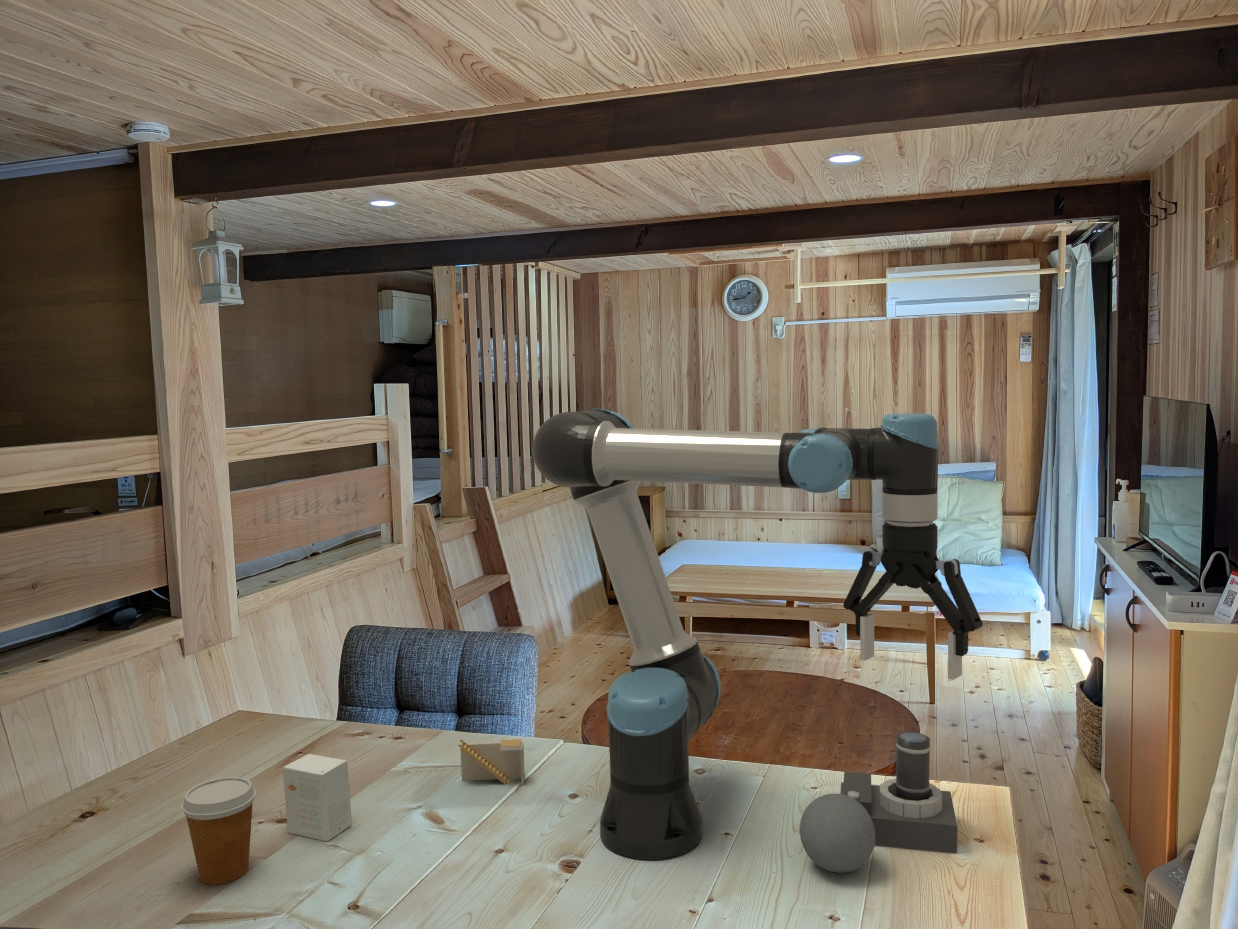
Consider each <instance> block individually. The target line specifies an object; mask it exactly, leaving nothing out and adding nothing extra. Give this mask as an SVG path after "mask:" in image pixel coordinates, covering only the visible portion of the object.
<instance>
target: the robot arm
mask: <svg viewBox="0 0 1238 929" xmlns="http://www.w3.org/2000/svg"><path fill="white" fill-rule="evenodd" d="M938 438H939V437H938V422H937V419H936V418H935V417H934V416H933V415H932V414H929V413H890V414H885V415H884V416H883V417H882V421H881V424H880V426H879V427H874V428H873V427H871V428H848V427H847V428H846V427H845V428H843V427H841V428H840V427H836V428H835V427H834V428H833V427H830V428H829V427H816V428H806V429H802V430H801V431H800V432H777V431H775V432H772V431H771V432H770V431H741V430H737V431H736V430H733V431H732V430H701V429H699V430H698V429H670V428H668V429H667V428H666V429H665V428H664V429H663V428H662V429H661V428H635V427H633V425H632V423H631V422H630V421H629V420H628V419H627V418H625V416H623V415H621V414H620V413H617V412H615V411H613V410H609V409H608V410H606V409H604V408H591V409H585V410H579V411H565V412H560V413H557V414H554V415H553V416H551V417H549V418H547V419H546V420H545V421H544V422H543V423H542V424H541V425H540V426H539V427H538V429H537V431H536V434H535V435H534V438H533V442H532V448H531V450H532V458H533V461H534V464H535V466H536V468H537V470H538V471H539V473H540V474H541V476H543V477H544V478H545V479H546V480H547V481H548V482H550V483H552V484H554V485H556V486H559V487H563V488H568V489H569V490H570V491H569V492H570V493H571V497H572V499H573V502H574V503H575V504H578V505H580V506H582V507H583V508H584V509H586V512H587V513H588V517H589V521H590V523H591V526H592V529H593V532H594V534H595V535H594V536H595V538H596V541H597V544H598V546H599V549H600V552H601V556H602V559H603V562H604V565H605V568H606V571H607V573H608V576H609V580H610V583H611V585H612V589H613V591H614V594H615V597H616V600H617V603H618V605H619V608H620V612H621V614H622V617H623V620H624V624H625V626H626V629H627V632H628V636H629V638H630V641H631V645H632V647H633V650H632V651H633V652H632V654H631V656H630V657H629V660H628V665H629V668H630V671H627V672H625V673H623V674H622V675H620V676H618V677H617V678H616V679H615V680H614V681H613V682H612V684H611V685H610V687H609V688H608V690H609V691H608V695H607V696H608V697H607V699H608V700H607V705H606V706H607V707H606V714H607V723H608V724H607V725H608V747H609V748H608V750H609V752H608V753H609V771H610V772H609V774H610V778H609V779H610V782H609V783H610V784H609V788H608V792H607V795H606V798H605V802H604V806H603V808H602V811H601V815H600V819H599V837H600V840H601V842H602V844H603V845H604V846H605V847H606V848H607V849H609V850H610V851H611V852H614V853H615V854H618V855H621V856H623V857H627V858H630V859H638V860H663V859H671V858H673V857H676V856H677V857H678V856H680V855H683V854H685V853H687V852H690V851H691V850H693V849H694V848H696V847H697V845H698V844H699V843H701V840H702V838H703V818H702V815H701V811H700V809H699V806H698V803H697V801H696V798H695V795H694V793H693V790H692V786H691V784H690V764H689V762H690V761H689V760H690V759H689V758H690V757H689V755H690V753H689V752H690V751H689V743H690V741H691V739H693V737H694V736H695V735H696V734H697V732H698V731H699V730H700V728H701V727H702V726H703V725H705V724H706V723H707V722H708V721H709V719H710V718H711V717H712V716H713V715H714V712H715V710H716V708H717V707H718V706H717V705H718V703H719V701H720V697H721V694H722V692H721V691H722V690H721V689H722V683H721V678H720V675H719V671H718V670H717V667H716V665H715V664H714V663H713V661H712V660H711V659H710V658H709V657H708V656H705V654H703V653H702V651H701V649H700V648H701V647H700V646H699V641H698V640H697V638H696V637H694V636H692V635H690V634H689V633H687V632H685V630H684V627H683V624H682V622H681V618H680V616H679V613H678V610H677V607H676V604H675V601H674V598H673V595H672V592H671V590H670V586H669V583H668V580H667V577H666V575H665V572H664V569H663V566H662V562H661V560H660V556H659V554H658V551H657V548H656V546H655V542H654V538H653V537H652V534H651V530H650V528H649V524H648V522H647V519H646V516H645V513H644V509H643V508H642V507H643V506H642V504H641V502H640V499H639V495H638V489H639V486H640V485H641V482H654V483H672V484H673V483H675V484H676V483H678V484H679V483H680V484H697V485H699V484H700V485H701V484H702V485H721V486H722V485H723V486H745V487H746V486H747V487H765V488H766V487H768V488H787V489H798V490H799V489H800V490H804V491H806V492H808V493H813V494H814V493H815V494H823V493H831V492H833V491H835V490H837V489H839V488H840V487H842V486H843V485H844V484H845V483H846V481H859V480H860V481H861V480H862V481H868V480H869V481H877V480H878V481H881V482H882V498H881V499H882V500H881V501H882V506H881V507H882V508H881V509H882V510H881V511H882V513H881V515H882V520H884V521H885V522H884V523H883V524H882V529H881V530H882V532H881V533H882V536H881V537H882V540H881V541H882V544H881V545H882V547H883V551H882V552H878V550H877V549H873V548H872V549H871V550H867V551H864V552H863V553H862V559H861V560H862V561H861V566H860V568H859V570H858V572H857V574H856V577H855V579H854V581H853V582H852V585H851V586H850V589H849V591H848V594H847V596H846V597H845V600H844V602H843V605H842V606H843V608H844V609H845V610H848V611H849V610H850V611H851V612H852V613H854V615H855V634H856V636H857V637H859V638H860V640H859V642H860V644H859V645H860V646H859V650H860V654H859V656H860V661H865V662H866V661H867V660H869V659H872V658H874V657H875V613H870V612H872V611H871V610H872V608H874V606H875V605H876V604H877V603H878V601H879V600H880V599H881V598H882V597H883V596H884V595H885V594H886V593H887V591H888V590H889V589H890V588H892V586H893V585H896V586H897V587H908V588H911V589H919V588H920V589H921V590H922V591H923V593H925V594H927V596H928V597H929V598H930V599H931V601H932V602H933V604H934V605H935V607H936V608H937V609H938V611H939V612H940V614H941V615H942V616H943V618H944V619H945V620H946V622H947V623H948V625H949V626H950V627H951V629H952V631H950V632H947V633H948V634H947V636H948V637H947V679H948V680H951V681H954V680H955V679H958V678H959V677H961V676H962V675H963V657H964V656H966V655H967V654H968V652H969V633H970V632H974V631H977V630H980V629H981V628H982V627H983V624H984V623H983V621H982V619H981V616H980V614H979V611H978V609H977V607H976V605H975V603H974V601H973V599H972V597H971V595H970V592H969V590H968V588H967V585H966V583H965V581H964V579H963V577H962V572H961V564H960V560H959V559H956V558H954V559H951V560H940V559H939V558H938V555H937V552H938V545H939V544H938V543H939V542H938V538H939V537H938V532H939V531H938V530H939V529H938V528H939V527H938V525H937V524H936V523H935V522H936V520H937V519H938V517H939V516H938V506H939V505H938V499H939V498H938V492H939V491H938V489H939V488H938V483H939V482H938V481H939V480H938V479H939V439H938ZM880 564H881V565H882V567H883V568H884V570H885V572H884V573H883V574H882V576H880V578H879V579H878V581H877V582H876V583H875V585H874V586H873V587H872V588H871V589H870V590H869V591H868V593H867V594H866V595H865V596H864V594H865V593H866V592H865V591H866V590H867V587H868V586H869V583H870V582H871V579H872V578H873V576H874V574H875V571H876V569H877V567H878V566H880ZM938 571H940V574H941V576H943V577H944V580H945V583H946V585H947V587H948V589H949V591H950V592H949V593H950V595H951V597H952V598H953V600H952V598H951V597H950V596H949V595H948V593H947V591H945V589H944V588H943V584H942V582H941V581H940V579H939V578H938V577H937V575H936V573H938ZM863 596H864V598H863Z"/></svg>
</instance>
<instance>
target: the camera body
mask: <svg viewBox="0 0 1238 929" xmlns="http://www.w3.org/2000/svg"><path fill="white" fill-rule="evenodd" d="M843 773H844V774H843V782H841V783H840V793H839V794H843V795H846V796H849V797H851V798H853V799H855V800H856V801H858V802H859V803H860V804H861V805H862V806H863V807H864V808H865V809H866V810H867V812H868V813H869V815H870V817H871V819H872V822H873V824H874V828H875V845H874V846H878V847H879V846H880V847H889V848H898V849H900V848H901V849H908V850H909V849H910V850H919V851H928V852H929V851H931V852H938V853H939V852H941V853H951V854H958V822H957V817H956V812H955V807H954V802H953V798H952V792H951V791H950V790H949V791H948V790H941V789H940V788H939V787H937V786H936V785H934V784H932V783H931V782H929V784H930V789H929V799H926V800H920V801H913V800H904V799H901V798H898V797H896V778H891V779H887V780H885V781H883V782H882V783H881V784H880V785H879V784H872V773H871V772H870V773H868V772H858V771H857V772H856V771H844V772H843Z"/></svg>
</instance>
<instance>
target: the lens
mask: <svg viewBox="0 0 1238 929" xmlns="http://www.w3.org/2000/svg"><path fill="white" fill-rule="evenodd" d="M895 742H896V743H895V747H896V750H895V751H896V762H895V763H896V764H895V766H896V767H895V768H896V769H895V772H896V773H895V776H896V777H895V779H896V797H898V798H901V799H904V800H913V801H920V800H926V799H929V789H930V784H929V783H930V755H931V754H930V751H931V738H930V737H929V736H927V735H926V734H923V733H919V732H914V731H904V732H899V733H898V734H896V741H895Z"/></svg>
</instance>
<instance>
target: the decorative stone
mask: <svg viewBox="0 0 1238 929" xmlns="http://www.w3.org/2000/svg"><path fill="white" fill-rule="evenodd" d="M799 836H800V841H801V846H803V850H804V851H805V854H806V855H807V856H808V858H810V860H811V861H812V862H813V863H814V864H816V865H817V866H818V867H820V868H821V869H824V870H826V871H828V872H832V873H839V874H840V873H842V874H843V873H845V874H846V873H850V872H853V871H855V870H858V869H859V868H861V867H862V866H863V865H864V864H865V863H866V862H867V861H868V860H869V859H870V857H871V855H872V853H873V850H874V848H875V846H876V845H875V828H874V824H873V822H872V819H871V817H870V815H869V813H868V812H867V810H866V809H865V808H864V807H863V806H862V805H861V804H860V803H859V802H858V801H856V800H855V799H853V798H851V797H849V796H846V795H843V794H840V793H826V794H822V795H820V796H819V797H816V798H815V799H813V800H812V801H811V802H810V803H809V804H808V805H807V806H806V808H805V809H804V811H803V813H802V815H801V818H800V823H799Z"/></svg>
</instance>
